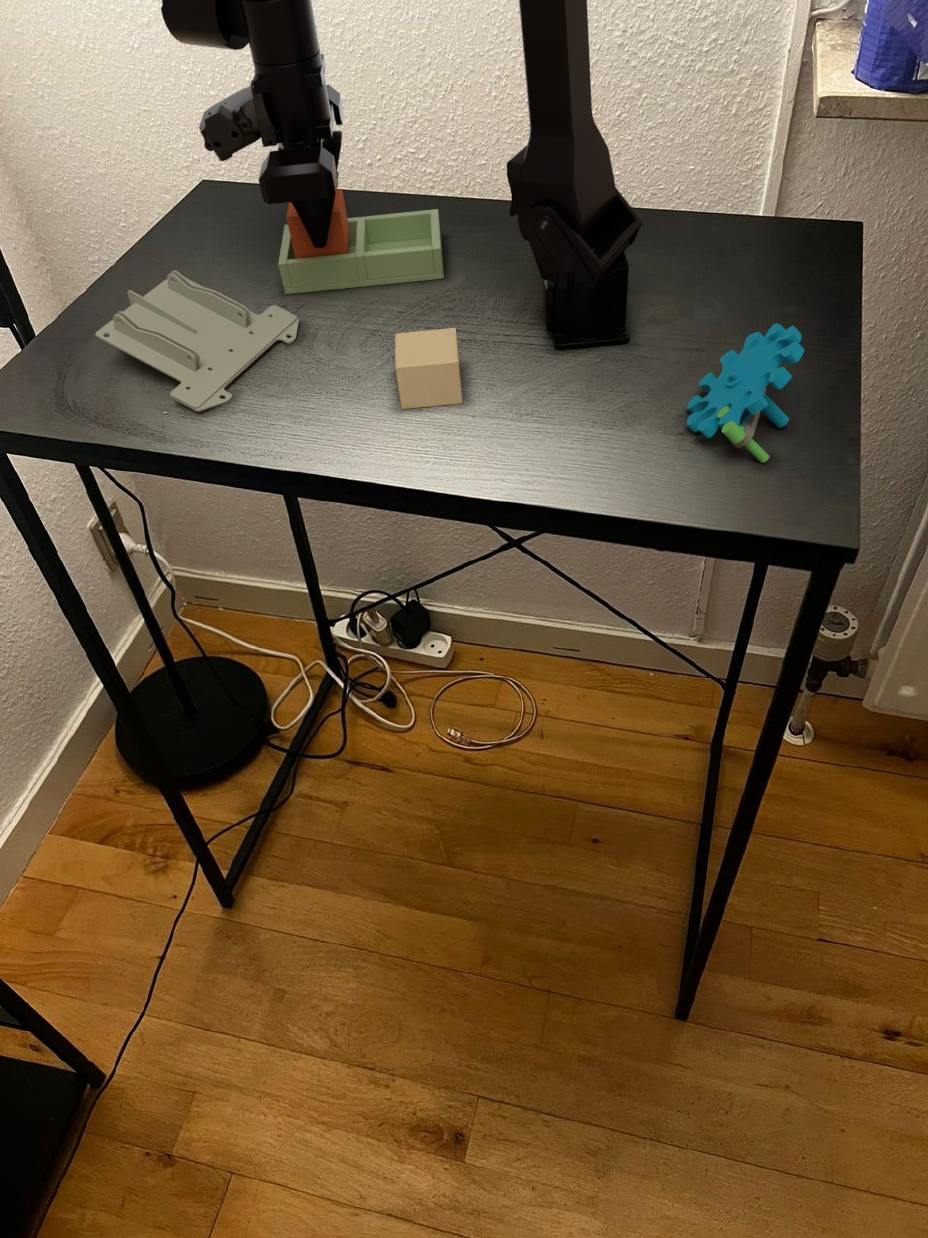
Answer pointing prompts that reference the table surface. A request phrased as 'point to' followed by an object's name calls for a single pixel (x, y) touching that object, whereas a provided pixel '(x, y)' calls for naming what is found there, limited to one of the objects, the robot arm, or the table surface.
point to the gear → (746, 388)
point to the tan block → (428, 368)
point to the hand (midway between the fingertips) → (321, 233)
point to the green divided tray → (370, 255)
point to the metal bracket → (196, 337)
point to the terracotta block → (336, 235)
